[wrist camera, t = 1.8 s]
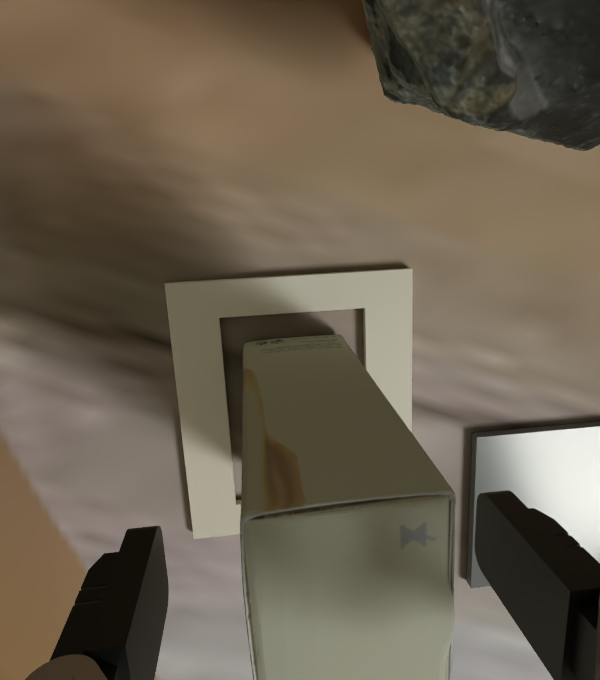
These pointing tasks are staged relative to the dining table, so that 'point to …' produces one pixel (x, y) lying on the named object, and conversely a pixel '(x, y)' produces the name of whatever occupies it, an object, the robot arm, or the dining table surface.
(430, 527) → the skincare box
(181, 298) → the flat square frame
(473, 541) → the tile
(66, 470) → the dining table surface
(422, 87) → the dark grey rock
